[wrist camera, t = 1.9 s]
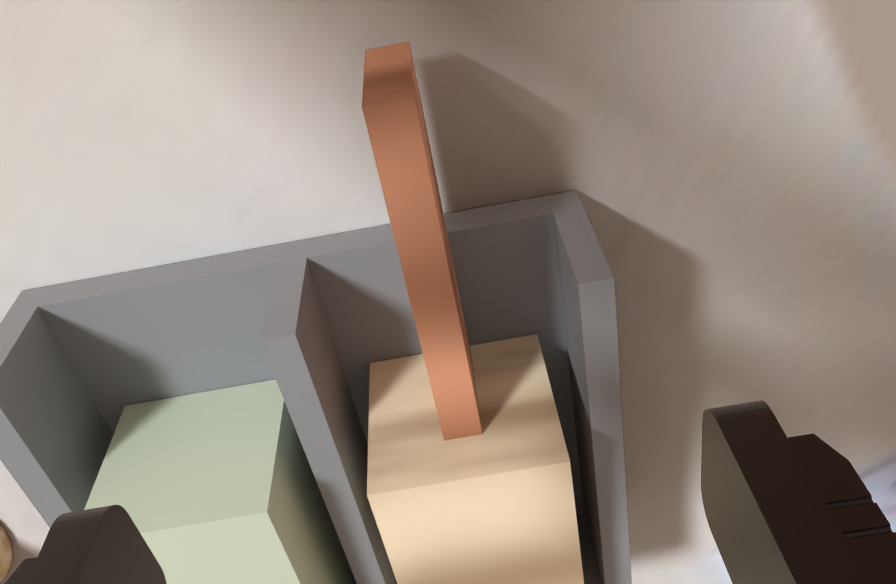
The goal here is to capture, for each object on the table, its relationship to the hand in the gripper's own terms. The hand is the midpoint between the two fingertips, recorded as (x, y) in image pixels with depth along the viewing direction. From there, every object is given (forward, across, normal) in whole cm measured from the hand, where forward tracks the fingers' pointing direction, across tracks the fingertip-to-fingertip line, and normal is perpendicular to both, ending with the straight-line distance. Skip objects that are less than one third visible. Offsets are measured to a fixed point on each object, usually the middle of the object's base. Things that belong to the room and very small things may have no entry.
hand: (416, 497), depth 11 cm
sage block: (+14, +9, +14) cm, 22 cm away
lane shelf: (+16, +4, +12) cm, 20 cm away
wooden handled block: (+14, 0, +9) cm, 17 cm away
